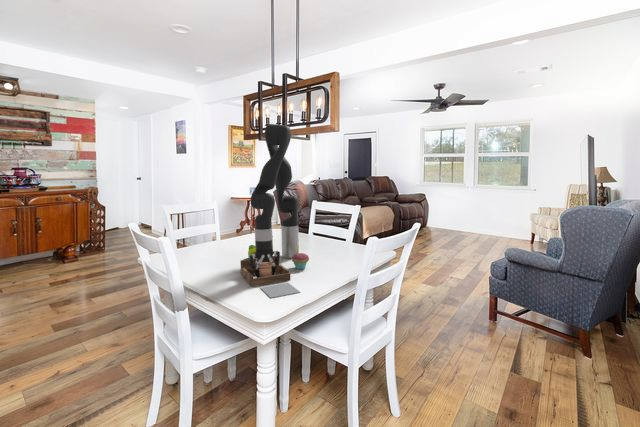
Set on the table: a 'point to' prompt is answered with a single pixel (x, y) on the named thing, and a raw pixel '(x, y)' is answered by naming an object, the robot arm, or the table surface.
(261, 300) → the table surface
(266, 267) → the peach round knob
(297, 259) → the cupcake
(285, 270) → the frame
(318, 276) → the table surface
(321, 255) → the table surface
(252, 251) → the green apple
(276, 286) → the gray square base plate
